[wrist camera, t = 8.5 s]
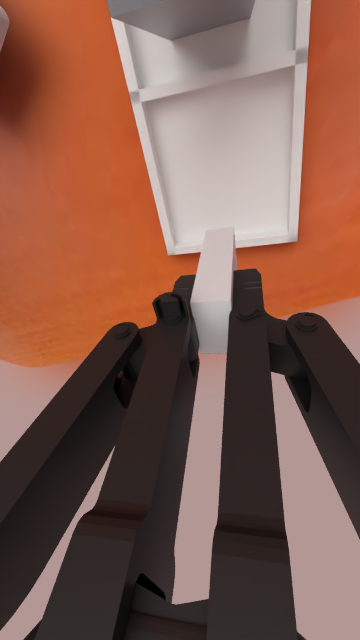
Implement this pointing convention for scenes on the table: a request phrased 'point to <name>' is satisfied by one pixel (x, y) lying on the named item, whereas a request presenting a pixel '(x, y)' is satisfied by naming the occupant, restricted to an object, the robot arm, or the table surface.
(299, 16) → the dock
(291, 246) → the table surface
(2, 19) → the smartphone
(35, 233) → the table surface
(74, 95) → the table surface
